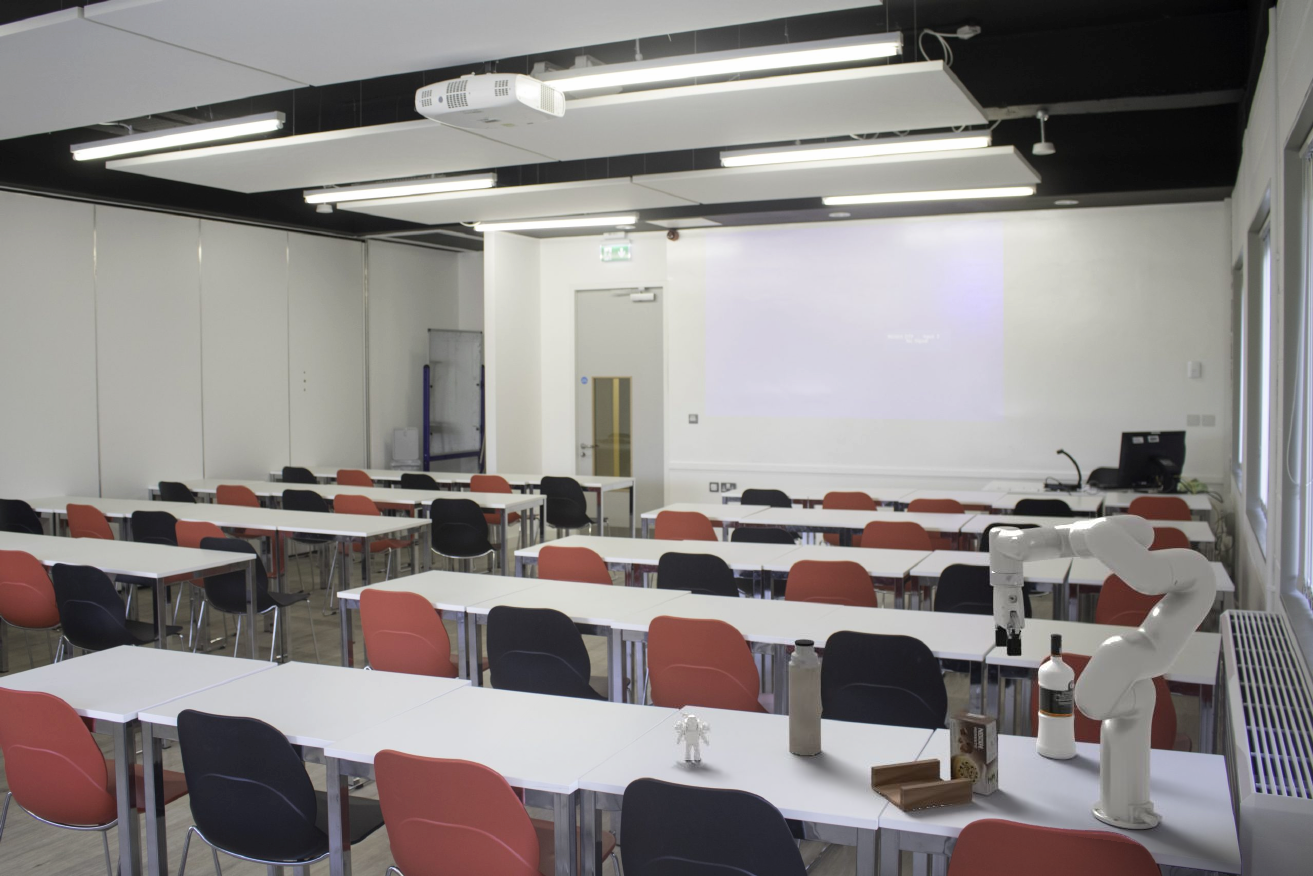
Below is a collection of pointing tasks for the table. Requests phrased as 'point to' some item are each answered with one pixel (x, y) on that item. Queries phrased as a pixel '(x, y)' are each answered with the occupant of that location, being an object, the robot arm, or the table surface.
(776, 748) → the table surface
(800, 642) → the thermos bottle
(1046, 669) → the vodka
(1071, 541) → the robot arm
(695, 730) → the blocky character figurine
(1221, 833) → the table surface
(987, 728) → the coffee box
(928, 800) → the u rest
